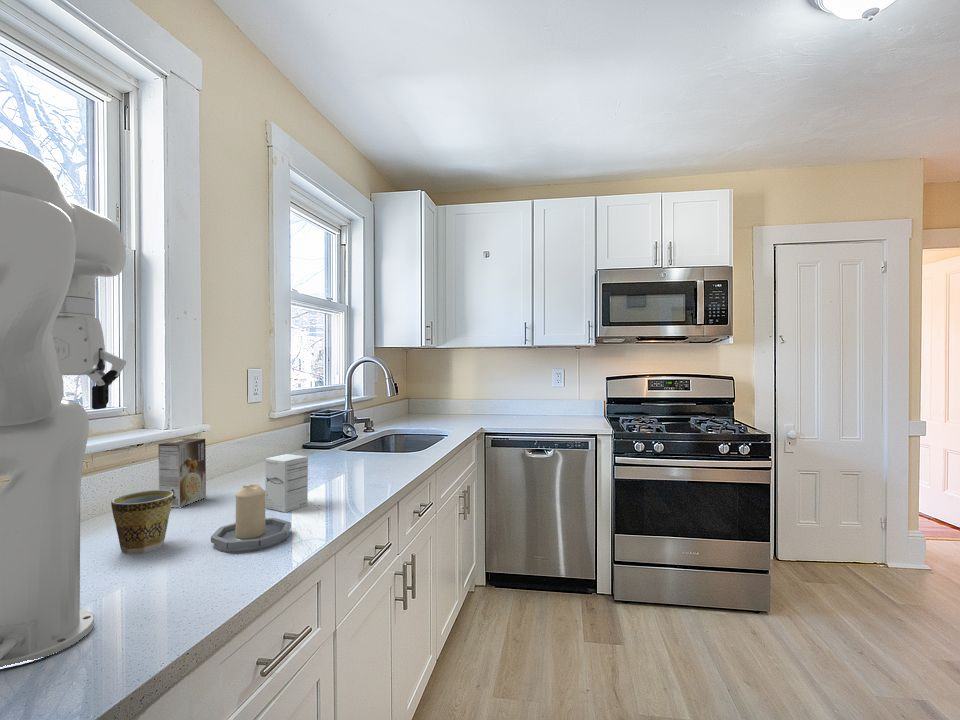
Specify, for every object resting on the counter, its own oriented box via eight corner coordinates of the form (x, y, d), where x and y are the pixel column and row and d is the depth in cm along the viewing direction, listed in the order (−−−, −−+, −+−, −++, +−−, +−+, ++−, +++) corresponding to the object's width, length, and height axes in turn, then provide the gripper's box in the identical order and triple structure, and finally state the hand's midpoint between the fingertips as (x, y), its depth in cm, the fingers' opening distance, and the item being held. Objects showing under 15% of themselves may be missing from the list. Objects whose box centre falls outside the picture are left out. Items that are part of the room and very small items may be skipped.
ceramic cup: (183, 544, 96) (183, 494, 96) (126, 562, 87) (126, 507, 87) (150, 532, 102) (150, 485, 103) (94, 548, 94) (94, 497, 94)
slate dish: (282, 549, 93) (282, 538, 93) (203, 555, 90) (203, 544, 90) (294, 525, 107) (294, 516, 107) (225, 530, 104) (225, 521, 104)
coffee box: (185, 497, 130) (185, 437, 130) (206, 498, 129) (206, 438, 129) (157, 507, 120) (157, 443, 121) (180, 508, 119) (180, 444, 120)
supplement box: (264, 509, 119) (264, 458, 119) (288, 501, 126) (288, 453, 126) (284, 513, 116) (284, 460, 116) (308, 505, 122) (308, 455, 122)
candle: (253, 540, 95) (253, 490, 95) (229, 538, 96) (229, 488, 96) (271, 530, 100) (271, 483, 100) (247, 529, 102) (248, 481, 102)
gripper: (-11, 305, 77) (-11, 412, 77) (113, 308, 80) (113, 410, 80) (23, 310, 84) (22, 408, 84) (135, 312, 88) (134, 406, 88)
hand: (66, 409), depth 82 cm, fingers open, 9 cm apart
